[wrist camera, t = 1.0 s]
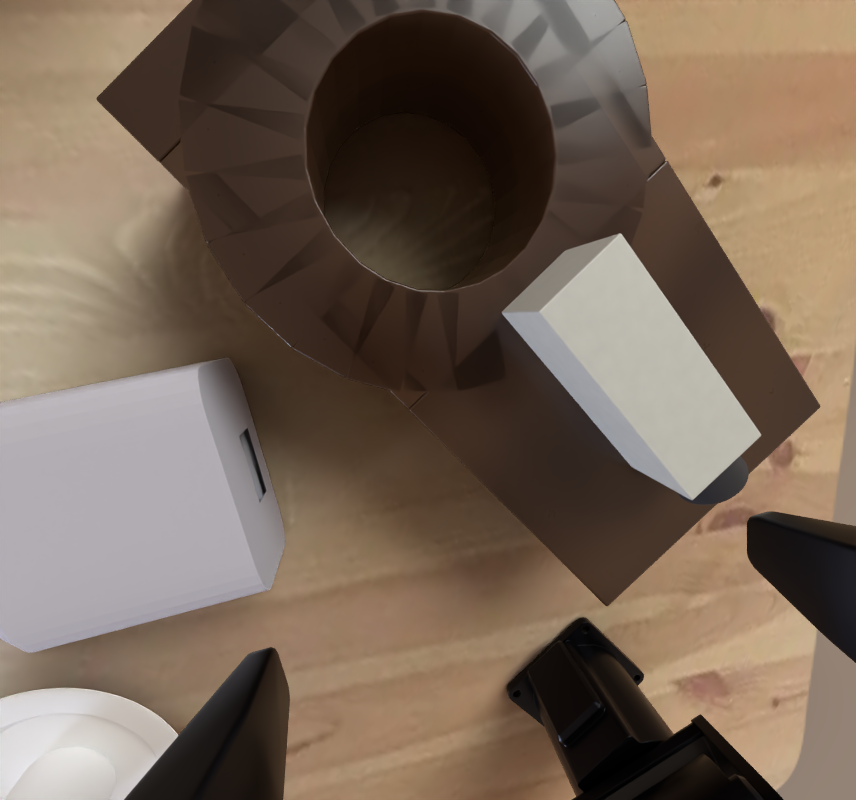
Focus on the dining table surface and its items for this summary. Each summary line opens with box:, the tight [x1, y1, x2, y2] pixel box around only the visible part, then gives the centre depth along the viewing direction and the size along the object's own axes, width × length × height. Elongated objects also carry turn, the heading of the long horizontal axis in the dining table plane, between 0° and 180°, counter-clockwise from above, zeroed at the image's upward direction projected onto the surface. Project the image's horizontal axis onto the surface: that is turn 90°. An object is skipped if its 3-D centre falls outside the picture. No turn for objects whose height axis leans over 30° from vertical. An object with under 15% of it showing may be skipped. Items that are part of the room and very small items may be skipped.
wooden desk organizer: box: [97, 0, 820, 606], centre depth 17 cm, size 24×14×6 cm, turn 43°
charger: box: [0, 357, 285, 652], centre depth 16 cm, size 5×9×15 cm
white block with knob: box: [502, 233, 761, 505], centre depth 13 cm, size 9×3×3 cm, turn 43°
